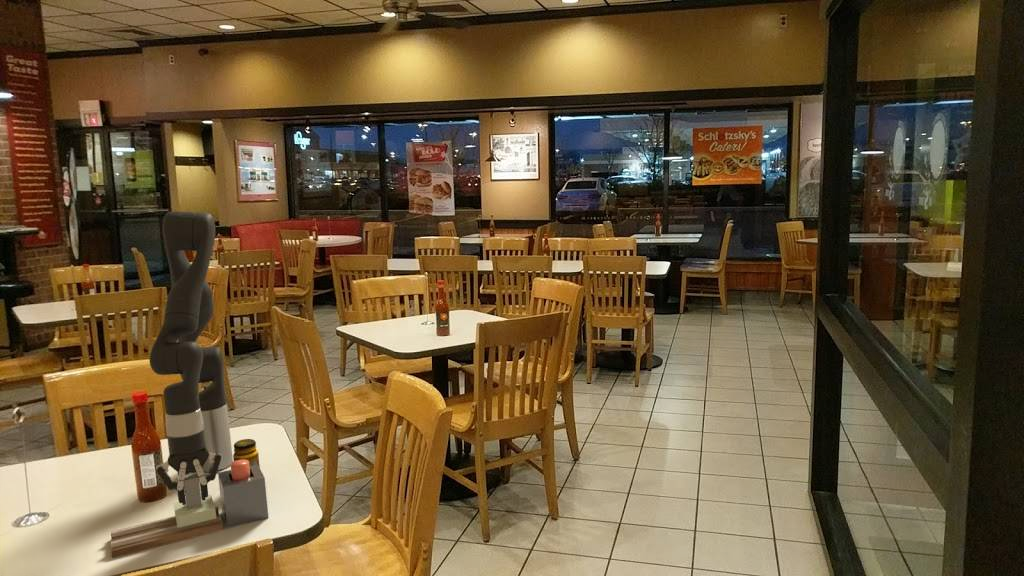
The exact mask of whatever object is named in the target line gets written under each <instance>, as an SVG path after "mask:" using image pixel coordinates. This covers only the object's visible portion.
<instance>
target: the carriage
mask: <svg viewBox="0 0 1024 576" xmlns="http://www.w3.org/2000/svg"><path fill="white" fill-rule="evenodd" d="M183 486H184V491H185V499H186V505H183V504H182V503H179V501H176V502H173V508H174V516H175V517H176V522H177V528H179V527H184V526H188V525H192V524H196V523H200V522H204V521H208V520H212V519H216V510H215V506H216V505H215V503H214V500H213V497H212V494H208V497H205V499H206V500H203V501H202V498H201V489H200V479H199V477H198V474H197V472H196V473H189V474H186V475H185V478H184V483H183Z"/></svg>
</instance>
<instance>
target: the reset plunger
mask: <svg viewBox="0 0 1024 576" xmlns="http://www.w3.org/2000/svg"><path fill="white" fill-rule="evenodd" d="M230 470H231V474H232V481H237V480H241V479H245V478H250V468H249V461H248V460H237V461H234V460H233V462H232V463H231V465H230Z"/></svg>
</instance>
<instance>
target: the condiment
mask: <svg viewBox="0 0 1024 576" xmlns="http://www.w3.org/2000/svg"><path fill="white" fill-rule="evenodd" d="M232 456H233V462H234V461H237V460H248V461H249V466H251V465H255V464H258V466H259V468H260V469H261V466H260V455H259V450H258V449H257V442H256V441H255V439H254V438H253V439H252V438H245V439H240V440H237V441H236V442H235V443H234V444H233V454H232ZM265 487H266V485H265Z"/></svg>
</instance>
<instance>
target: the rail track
mask: <svg viewBox="0 0 1024 576" xmlns="http://www.w3.org/2000/svg"><path fill="white" fill-rule="evenodd" d="M214 506H215V510H216V519H212V520H208V521H204V522H200V523H196V524H192V525H188V526H184V527H179V528H177V522H176V517H175V515H174V516H170V517H166V518H162V519H157V520H154V521H149V522H145V523H140V524H137V525H133V526H128V527H124V528H120V529H115V530H112V531H110V537H111V539H110V549H111V550H110V553H111V558H113V559H114V558H116V557H121V556H125V555H128V554H133V553H136V552H140V551H144V550H148V549H151V548H155V547H159V546H160V547H161V546H163V545H168V544H172V543H175V542H180V541H184V540H188V539H191V538H194V537H199V536H203V535H207V534H210V533H215V532H218V531H223V529H224V528H223V521H222V517H221V514H220V512H219V506H218V505H214Z"/></svg>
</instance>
